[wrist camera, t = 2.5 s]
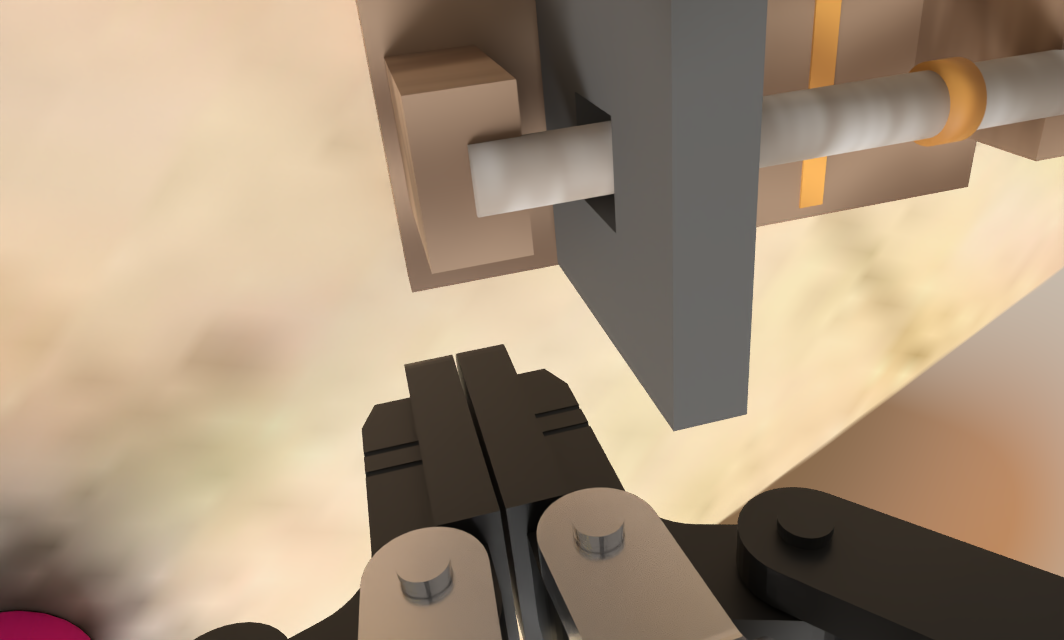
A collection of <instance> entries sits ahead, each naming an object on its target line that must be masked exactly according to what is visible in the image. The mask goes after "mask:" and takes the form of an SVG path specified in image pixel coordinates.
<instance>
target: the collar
mask: <svg viewBox="0 0 1064 640" xmlns="http://www.w3.org/2000/svg"><path fill="white" fill-rule="evenodd" d="M535 2H536V13H537V25H538V37H539V49H540V60H541V72H542V84H543V96H544V107H545V119H546V131H549V130H555V129H561V128H568V127H574V126H580V125H586V124H593V123H599V122H605V121H611V127H612V150H613V173H614V194H609V195H604V196H598V197H592V198H587V199H581V200H575V201H570V202H564V203H558V204H553V213H554V225H555V236H556V248H557V260H558V264H559V265H560V267H561V268H562V270H563V271H564V273H565V274H566V276H567V277H568V279H569V280H570V281H571V283H572V284H573V286H574V287H575V289H576V290H577V292H578V293H579V295H580V296H581V297H582V299H583V300H584V302H585V303H586V305H587V306H588V308H589V309H590V310H591V312H592V313H593V315H594V316H595V318H596V319H597V321H598V322H599V324H600V325H601V326H602V328H603V329H604V331H605V332H606V334H607V335H608V337H609V338H610V340H611V341H612V342H613V344H614V345H615V347H616V348H617V350H618V351H619V353H620V354H621V355H622V357H623V358H624V360H625V361H626V363H627V364H628V366H629V367H630V369H631V370H632V371H633V373H634V374H635V376H636V377H637V379H638V380H639V382H640V383H641V385H642V386H643V387H644V389H645V390H646V392H647V393H648V395H649V396H650V398H651V399H652V401H653V402H654V403H655V405H656V406H657V408H658V409H659V411H660V412H661V414H662V415H663V416H664V418H665V419H666V421H667V422H668V424H669V425H670V427H671V428H672V430H673V431H677V430H681V429H685V428H690V427H694V426H698V425H703V424H707V423H711V422H715V421H720V420H724V419H728V418H733V417H737V416H741V415H745V414H747V398H748V378H749V359H750V339H751V319H752V300H753V280H754V260H755V241H756V221H757V202H758V182H759V162H760V143H761V123H762V103H763V84H764V64H765V44H766V25H767V5H768V0H535Z"/></svg>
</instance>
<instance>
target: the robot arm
mask: <svg viewBox="0 0 1064 640" xmlns="http://www.w3.org/2000/svg"><path fill="white" fill-rule="evenodd" d="M456 362H457V368H456V365H455V362H454V358H453V356H452V355H449V356H444V357H439V358H434V359H429V360H424V361H420V362H415V363H410V364H405V365H404V366H405V371H406V377H407V382H408V387H409V393H410V398H406V399H401V400H396V401H392V402H387V403H382V404H377V405H375V406H374V407H373V409H372V411H371V413H370V415H369V417H368V418H367V420H366V422H365V424H364V426H363V428H362V437H363V449H364V456H365V457H364V462H365V473H366V487H367V500H368V513H369V526H370V538H371V551H372V557H371V559H370V561H369V562H368V564H367V566H366V567H365V569H364V572H363V575H362V578H361V584H360V589H359V590H358V591H357V592H356V594H355V595H354V596H353V597H352V598H351V599H350V600H349V601H348V602H347V603H346V604H345V605H344V606H343V607H342V608H340V609H339V610H338V611H336V612H335V613H334V614H332V615H331V616H329V617H327V618H326V619H324V620H322V621H321V622H319V623H317V624H315V625H313V626H311V627H310V628H308V629H306V630H304V631H302V632H300V633H298V634H297V635H295V636H293V637H291V638H289V639H287V637H286V636H285V635H284V634H283V633H282V632H280V631H279V630H278V629H276V628H274V627H272V626H270V625H266V624H262V623H253V622H245V623H236V624H231V625H226V626H223V627H220V628H217V629H214V630H212V631H210V632H207V633H205V634H203V635H201V636H199V637H198V638H196V639H194V640H520V639H519V632H518V625H517V619H516V615H517V618H518V622H519V626H520V629H521V633H522V636H523V640H1064V577H1061V576H1058V575H1055V574H1053V573H1050V572H1047V571H1044V570H1041V569H1039V568H1035V567H1033V566H1030V565H1027V564H1025V563H1022V562H1019V561H1016V560H1013V559H1010V558H1007V557H1005V556H1002V555H999V554H996V553H993V552H990V551H988V550H985V549H982V548H980V547H977V546H974V545H971V544H968V543H966V542H963V541H960V540H957V539H954V538H952V537H949V536H946V535H943V534H940V533H937V532H935V531H932V530H929V529H926V528H923V527H921V526H917V525H915V524H912V523H909V522H907V521H904V520H901V519H898V518H895V517H892V516H890V515H887V514H884V513H881V512H879V511H876V510H873V509H870V508H867V507H864V506H862V505H859V504H856V503H853V502H850V501H847V500H845V499H842V498H839V497H836V496H834V495H831V494H828V493H825V492H821V491H818V490H813V489H808V488H797V487H790V488H789V487H788V488H778V489H773V490H769V491H766V492H763V493H761V494H759V495H757V496H755V497H754V498H752V499H751V500H750V501H748V503H747V504H746V505H745V506H744V507H743V509H742V510H741V512H740V515H739V518H738V525H714V524H684V523H678V522H673V521H669V520H666V519H662V518H660V517H659V516H658V515H657V513H656V512H655V511H654V509H653V508H652V507H651V506H650V505H649V504H648V503H647V502H645V501H644V500H643V499H641V498H639V497H638V496H636V495H634V494H631V493H629V492H626V491H625V490H624V488H623V486H622V484H621V482H620V480H619V479H618V477H617V475H616V473H615V471H614V469H613V467H612V466H611V464H610V462H609V460H608V458H607V456H606V454H605V453H604V451H603V449H602V447H601V445H600V443H599V441H598V440H597V438H596V436H595V434H594V432H593V430H592V428H591V427H590V426H589V425H588V421H587V419H586V417H585V415H584V414H583V412H582V410H581V409H579V404H578V403H577V401H576V399H575V397H574V395H573V393H572V391H571V390H570V388H569V386H568V384H567V383H565V382H564V381H562V380H561V379H559V378H558V377H556V376H555V375H553V374H552V373H550V372H549V371H547V370H545V369H541V370H536V371H531V372H527V373H522V374H517V373H516V371H515V368H514V366H513V364H512V362H511V359H510V357H509V355H508V352H507V350H506V348H505V346H504V345H503V344H501V345H496V346H492V347H487V348H482V349H477V350H472V351H467V352H462V353H458V354H456ZM457 369H458V371H457ZM515 611H516V612H515Z"/></svg>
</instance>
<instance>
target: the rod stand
mask: <svg viewBox="0 0 1064 640" xmlns="http://www.w3.org/2000/svg"><path fill="white" fill-rule="evenodd" d="M356 4H357V9H358V15H359V20H360V25H361V30H362V36H363V41H364V46H365V51H366V57H367V62H368V67H369V72H370V78H371V83H372V88H373V93H374V99H375V104H376V109H377V114H378V120H379V125H380V130H381V135H382V141H383V146H384V151H385V156H386V162H387V167H388V172H389V177H390V183H391V188H392V193H393V198H394V204H395V209H396V214H397V219H398V225H399V230H400V235H401V240H402V246H403V251H404V256H405V261H406V267H407V272H408V277H409V281H410V285H411V289H412V292H417V291H422V290H427V289H433V288H438V287H443V286H448V285H454V284H459V283H464V282H469V281H475V280H480V279H485V278H490V277H496V276H501V275H506V274H511V273H517V272H522V271H527V270H533V269H538V268H543V267H548V266H554V265H559V264H558V260H557V248H556V236H555V225H554V213H553V204H558V203H564V202H570V201H575V200H581V199H587V198H592V197H598V196H604V195H609V194H614V173H613V150H612V127H611V121H605V122H599V123H593V124H586V125H580V126H574V127H568V128H561V129H555V130H549V131H546V119H545V107H544V96H543V84H542V72H541V60H540V49H539V37H538V25H537V13H536V2H535V0H356ZM976 141H978V142H981V143H984V144H987V145H989V146H992V147H995V148H998V149H1001V150H1004V151H1007V152H1010V153H1013V154H1016V155H1019V156H1022V157H1025V158H1028V159H1031V160H1034V161H1039V160H1045V159H1050V158H1055V157H1061V156H1064V0H768V5H767V25H766V44H765V64H764V84H763V103H762V123H761V143H760V162H759V182H758V202H757V221H756V227H759V226H764V225H769V224H775V223H780V222H785V221H790V220H796V219H801V218H806V217H811V216H817V215H822V214H827V213H833V212H838V211H843V210H848V209H854V208H859V207H864V206H869V205H875V204H880V203H885V202H890V201H896V200H901V199H906V198H911V197H917V196H922V195H927V194H933V193H938V192H943V191H948V190H954V189H959V188H964V187H968V183H969V178H970V173H971V167H972V162H973V157H974V152H975V146H976Z"/></svg>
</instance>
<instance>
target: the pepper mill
mask: <svg viewBox="0 0 1064 640" xmlns="http://www.w3.org/2000/svg"><path fill="white" fill-rule="evenodd" d="M0 640H91V639H90V637H89V636H88V635H86V634H85V633H84V632H83V631H82V630H81V629H80V628H78V627H77V626H75V625H73V624H72V623H70V622H68V621H66V620H64V619H61V618H58V617H55V616H52V615H48V614H45V613H39V612H29V611H10V612H0Z"/></svg>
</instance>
